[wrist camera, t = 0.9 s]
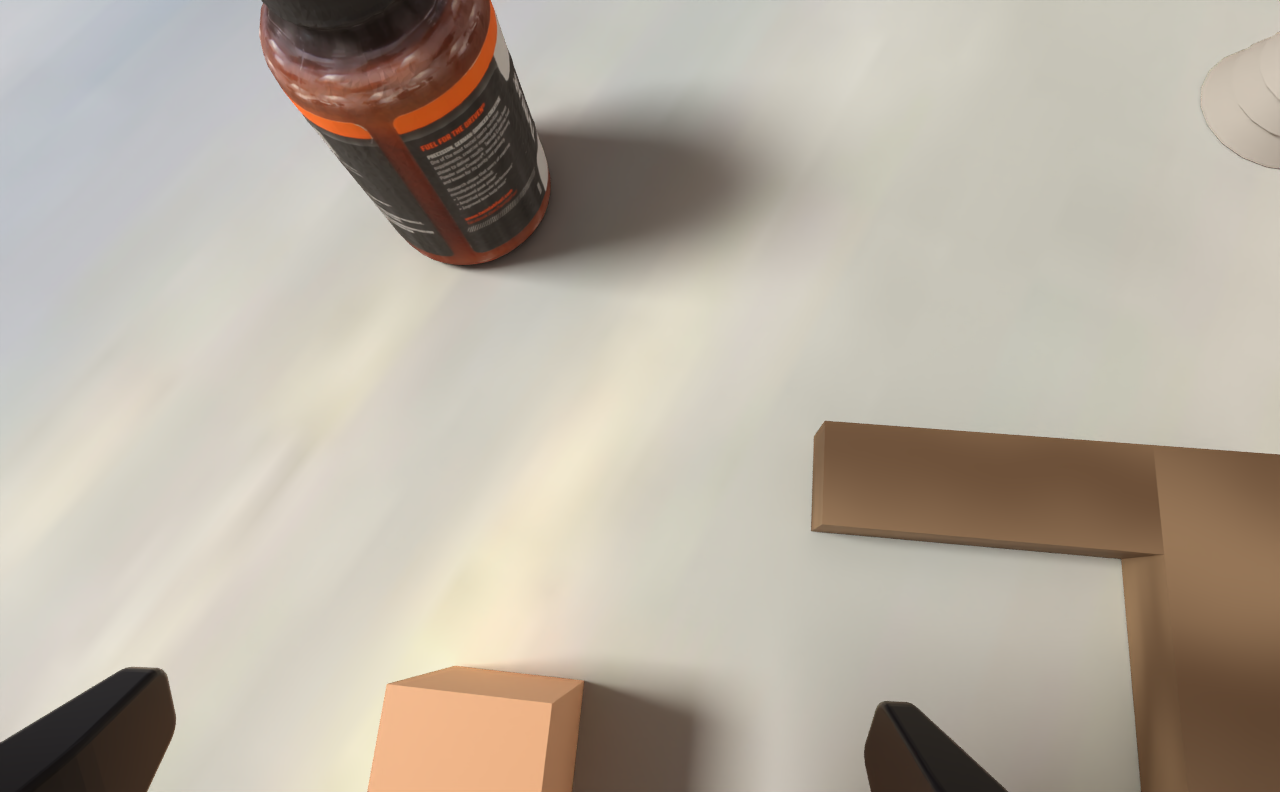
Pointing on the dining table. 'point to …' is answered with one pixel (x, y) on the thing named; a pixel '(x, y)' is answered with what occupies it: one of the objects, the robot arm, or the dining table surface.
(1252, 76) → the chalice
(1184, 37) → the dining table surface
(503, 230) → the supplement bottle
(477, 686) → the block
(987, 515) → the notched board
